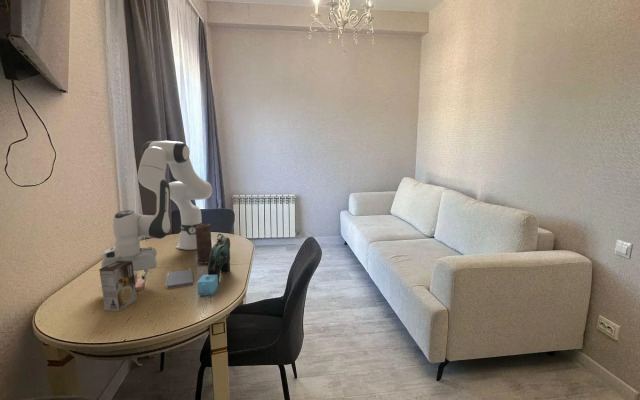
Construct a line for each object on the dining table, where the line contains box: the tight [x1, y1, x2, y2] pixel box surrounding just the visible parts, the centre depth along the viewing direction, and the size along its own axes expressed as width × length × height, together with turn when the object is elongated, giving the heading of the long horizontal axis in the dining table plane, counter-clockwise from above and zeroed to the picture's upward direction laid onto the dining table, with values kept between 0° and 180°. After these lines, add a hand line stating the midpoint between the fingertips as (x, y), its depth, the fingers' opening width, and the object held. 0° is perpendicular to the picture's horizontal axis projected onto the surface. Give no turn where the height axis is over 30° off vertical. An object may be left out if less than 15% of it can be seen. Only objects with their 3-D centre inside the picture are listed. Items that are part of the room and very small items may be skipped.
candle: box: [195, 223, 213, 264], centre depth 167 cm, size 8×7×20 cm
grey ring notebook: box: [165, 268, 194, 290], centre depth 147 cm, size 16×11×1 cm
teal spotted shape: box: [207, 233, 231, 285], centre depth 148 cm, size 20×6×20 cm, turn 177°
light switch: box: [134, 272, 147, 291], centre depth 140 cm, size 10×8×5 cm
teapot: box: [197, 274, 219, 297], centre depth 133 cm, size 12×6×8 cm, turn 4°
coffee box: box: [98, 261, 138, 312], centre depth 123 cm, size 9×6×16 cm
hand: (131, 280), depth 140 cm, fingers open, 8 cm apart
